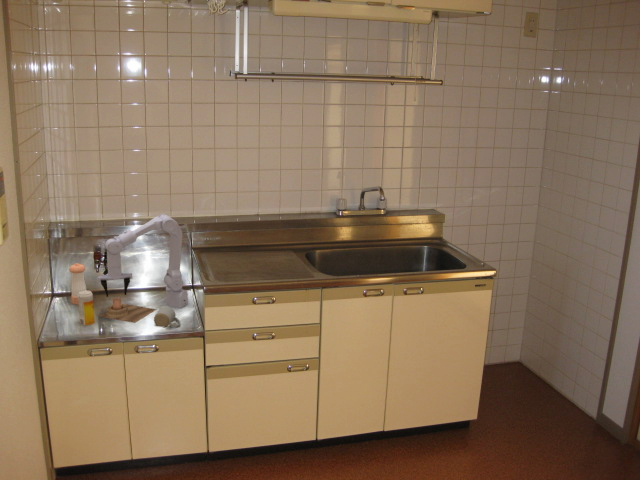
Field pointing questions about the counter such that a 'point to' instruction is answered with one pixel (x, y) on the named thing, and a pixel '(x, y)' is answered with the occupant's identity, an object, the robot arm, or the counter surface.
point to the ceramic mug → (166, 317)
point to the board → (133, 313)
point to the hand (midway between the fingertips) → (116, 295)
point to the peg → (117, 304)
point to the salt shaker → (77, 281)
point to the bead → (117, 311)
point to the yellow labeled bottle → (86, 307)
